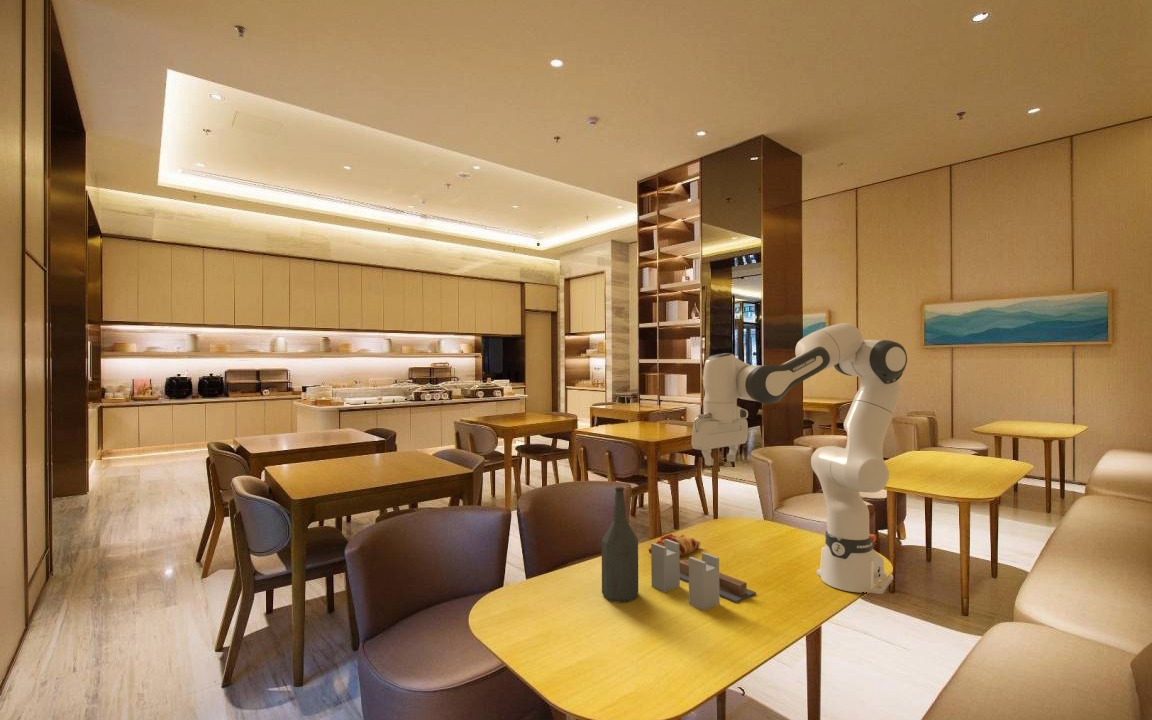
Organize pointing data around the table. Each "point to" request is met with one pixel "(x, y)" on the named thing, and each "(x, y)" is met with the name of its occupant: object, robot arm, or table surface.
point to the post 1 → (665, 565)
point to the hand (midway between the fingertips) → (720, 463)
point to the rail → (721, 581)
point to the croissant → (680, 543)
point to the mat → (725, 592)
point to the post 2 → (704, 581)
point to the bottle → (620, 556)
